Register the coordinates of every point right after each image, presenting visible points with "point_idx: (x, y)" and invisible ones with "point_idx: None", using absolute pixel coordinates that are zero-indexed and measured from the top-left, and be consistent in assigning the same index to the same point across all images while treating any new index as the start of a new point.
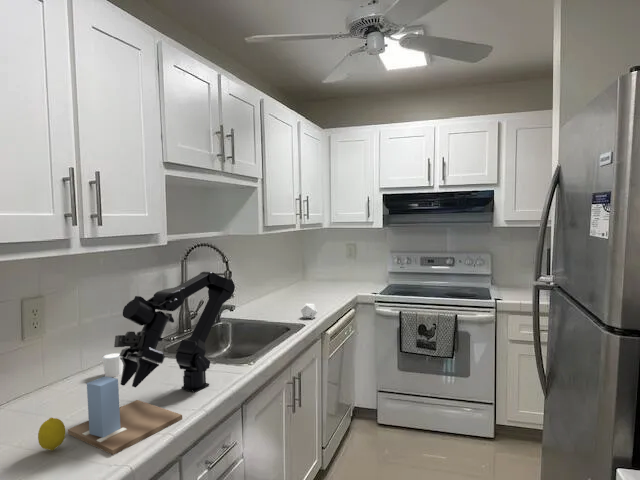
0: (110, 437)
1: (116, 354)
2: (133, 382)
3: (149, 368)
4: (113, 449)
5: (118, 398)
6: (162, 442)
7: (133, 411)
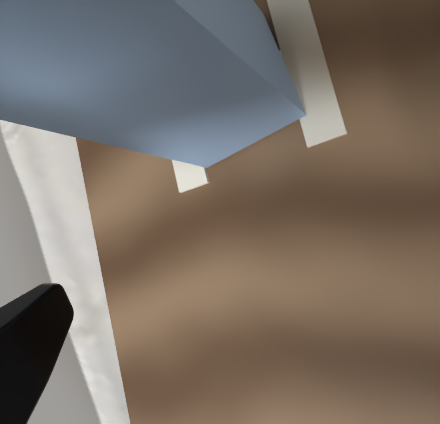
0: None
1: None
2: (9, 303)
3: None
4: None
5: (67, 131)
6: (50, 274)
7: (398, 317)
